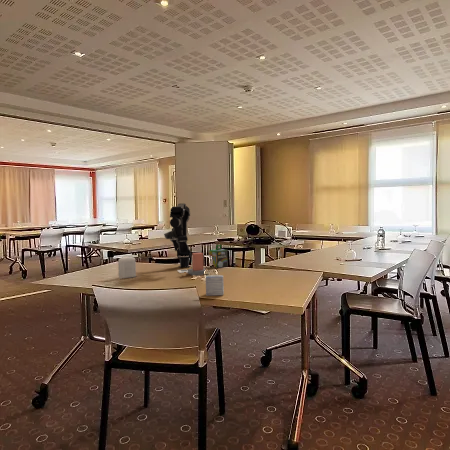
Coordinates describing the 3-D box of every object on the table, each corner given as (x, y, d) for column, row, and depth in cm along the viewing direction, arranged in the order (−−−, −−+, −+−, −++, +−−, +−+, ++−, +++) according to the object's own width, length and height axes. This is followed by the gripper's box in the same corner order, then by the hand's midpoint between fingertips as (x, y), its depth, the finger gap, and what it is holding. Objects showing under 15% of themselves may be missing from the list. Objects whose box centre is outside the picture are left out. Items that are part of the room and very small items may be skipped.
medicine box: (223, 293, 178) (223, 274, 178) (223, 295, 174) (222, 276, 173) (207, 293, 179) (206, 275, 178) (205, 295, 174) (205, 276, 174)
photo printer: (134, 276, 231) (133, 255, 230) (137, 277, 227) (136, 256, 227) (117, 278, 225) (116, 257, 225) (120, 279, 222) (119, 257, 221)
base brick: (187, 273, 235) (187, 269, 235) (203, 271, 239) (203, 267, 239) (192, 275, 226) (192, 271, 226) (208, 274, 230) (208, 270, 230)
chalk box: (220, 265, 265) (219, 243, 264) (228, 266, 258) (227, 244, 257) (209, 266, 259) (208, 244, 259) (217, 268, 252) (216, 245, 251)
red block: (192, 269, 234) (192, 253, 233) (201, 268, 236) (200, 252, 235) (194, 270, 229) (194, 253, 229) (203, 269, 232) (203, 253, 231)
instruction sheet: (176, 270, 247) (176, 270, 247) (198, 269, 251) (198, 268, 251) (179, 272, 237) (179, 272, 237) (201, 271, 241) (201, 270, 241)
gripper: (160, 226, 244) (161, 251, 244) (169, 227, 227) (170, 254, 227) (177, 225, 248) (178, 249, 249) (187, 226, 232) (188, 252, 232)
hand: (178, 251), depth 239 cm, fingers open, 9 cm apart
